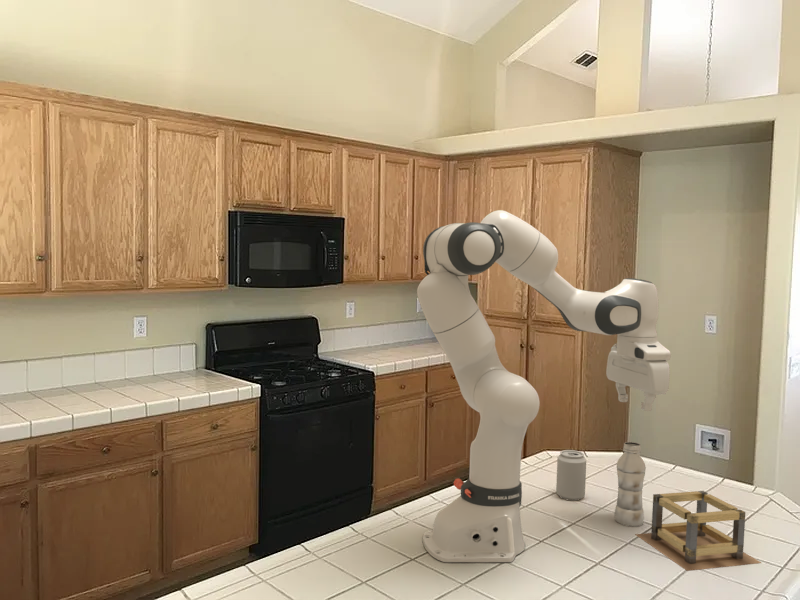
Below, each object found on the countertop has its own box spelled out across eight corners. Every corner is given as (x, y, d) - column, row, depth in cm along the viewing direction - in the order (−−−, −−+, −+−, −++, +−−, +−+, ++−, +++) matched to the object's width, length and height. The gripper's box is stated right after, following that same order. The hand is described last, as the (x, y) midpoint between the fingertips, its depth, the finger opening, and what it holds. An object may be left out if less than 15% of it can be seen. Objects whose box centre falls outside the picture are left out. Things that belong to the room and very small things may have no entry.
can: (588, 495, 180) (590, 451, 179) (579, 503, 174) (581, 458, 173) (561, 489, 184) (563, 446, 183) (552, 497, 178) (553, 453, 177)
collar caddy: (689, 564, 137) (692, 516, 137) (651, 537, 150) (653, 494, 149) (742, 558, 141) (745, 512, 140) (700, 533, 153) (703, 490, 152)
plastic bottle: (645, 533, 155) (649, 448, 154) (615, 530, 157) (619, 446, 156) (641, 522, 162) (645, 441, 161) (612, 519, 163) (616, 439, 162)
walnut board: (686, 576, 134) (687, 570, 134) (634, 539, 152) (634, 534, 152) (761, 568, 139) (761, 562, 139) (702, 533, 156) (702, 528, 156)
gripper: (600, 342, 166) (598, 397, 167) (650, 354, 146) (648, 416, 147) (623, 341, 167) (621, 396, 168) (675, 353, 148) (673, 415, 148)
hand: (634, 405), depth 157 cm, fingers open, 8 cm apart
